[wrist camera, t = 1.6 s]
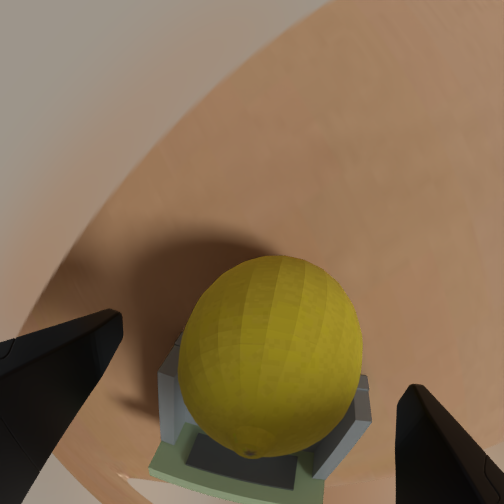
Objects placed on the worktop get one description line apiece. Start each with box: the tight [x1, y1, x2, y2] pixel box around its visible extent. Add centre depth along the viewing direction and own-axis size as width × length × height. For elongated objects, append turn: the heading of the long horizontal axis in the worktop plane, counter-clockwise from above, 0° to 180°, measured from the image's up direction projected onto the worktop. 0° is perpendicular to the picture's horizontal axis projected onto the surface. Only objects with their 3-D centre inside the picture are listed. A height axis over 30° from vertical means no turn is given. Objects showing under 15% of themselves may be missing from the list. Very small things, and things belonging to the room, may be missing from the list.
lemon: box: [178, 256, 363, 459], centre depth 9 cm, size 6×6×8 cm
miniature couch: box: [148, 332, 372, 504], centre depth 14 cm, size 10×8×5 cm
